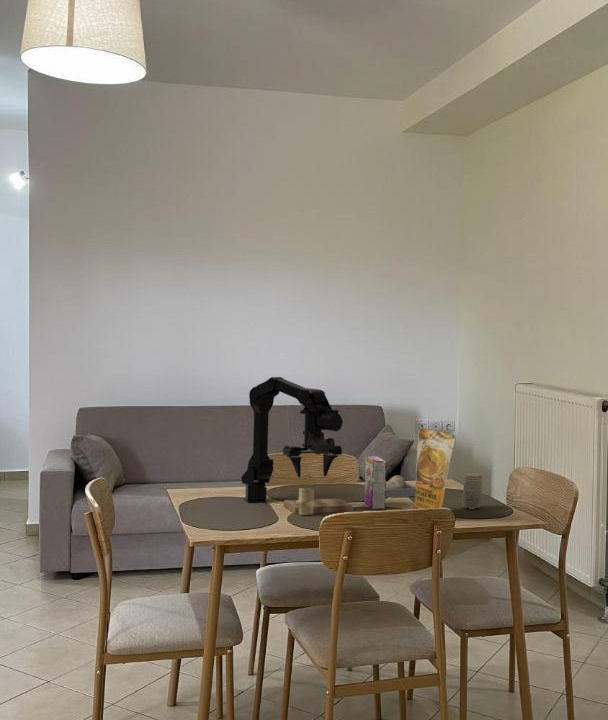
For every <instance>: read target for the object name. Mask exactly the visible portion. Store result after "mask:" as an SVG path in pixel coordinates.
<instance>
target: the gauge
mask: <svg viewBox="0 0 608 720" xmlns="http://www.w3.org/2000/svg"><path fill="white" fill-rule="evenodd" d="M314 491H315V489H313V488H312V487H307V488H306V487H304V488H303V487H302V488H301V487H300V488H298V499H295V500H296V503H297V504H298V505H299V509H298V513H299V514H298V515H301V516H305V515H306V516H307V515H314V513H313V502H314V499H315V498H314V497H315V496H314V495H315V492H314Z"/></svg>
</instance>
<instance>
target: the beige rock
mask: <svg viewBox="0 0 608 720" xmlns="http://www.w3.org/2000/svg"><path fill="white" fill-rule="evenodd" d="M406 484H407V483H406V480H405V478H404V477H403V476H402V475H400V474H397V475H394V476H392V477H391V478H389V480H387V481H386V489H407V486H406Z"/></svg>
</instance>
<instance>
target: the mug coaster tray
mask: <svg viewBox="0 0 608 720" xmlns="http://www.w3.org/2000/svg"><path fill="white" fill-rule="evenodd" d="M406 486H407V489H386V496H385V497H399V498H410V497H409V496H415V492H416V486H414V485H411V484H408V483H406Z"/></svg>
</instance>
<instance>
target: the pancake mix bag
mask: <svg viewBox="0 0 608 720" xmlns="http://www.w3.org/2000/svg"><path fill="white" fill-rule="evenodd" d="M456 440H457V439H456V436H455V435H454V434H453V433H450V432H446V431H440V430H437V429H432V428H426V427H420V428H417V444H416V445H417V446H416V447H417V450H416V462H415V487H416V492H415V497H414V506H413V510H414V509H418V508H441V509H442V506H443V502H444V499H445V498H444V497H445V490H446V486H447V481H448V476H449V472H450V468H451V464H452V463H451V462H452V459H453V458H452V457H453V454H454V450H455V447H456V443H457V442H456Z"/></svg>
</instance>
